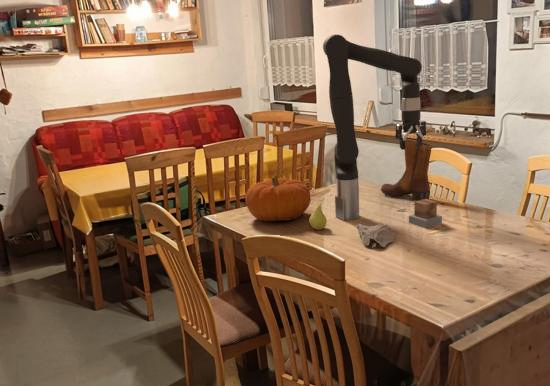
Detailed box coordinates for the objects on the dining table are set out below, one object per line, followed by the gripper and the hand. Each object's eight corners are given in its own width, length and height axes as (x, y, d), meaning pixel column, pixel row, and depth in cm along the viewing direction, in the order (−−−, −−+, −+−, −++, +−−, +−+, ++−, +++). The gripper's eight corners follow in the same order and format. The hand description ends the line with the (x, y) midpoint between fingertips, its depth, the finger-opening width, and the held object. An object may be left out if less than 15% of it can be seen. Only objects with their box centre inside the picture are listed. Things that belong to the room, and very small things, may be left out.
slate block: (425, 229, 216) (425, 220, 215) (409, 223, 224) (409, 215, 223) (441, 224, 220) (441, 216, 220) (425, 219, 228) (425, 211, 227)
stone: (349, 249, 209) (382, 261, 198) (345, 231, 204) (378, 242, 194) (373, 227, 216) (405, 237, 206) (369, 209, 212) (402, 219, 202)
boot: (377, 195, 266) (376, 140, 259) (390, 191, 271) (389, 137, 265) (421, 204, 247) (421, 145, 240) (433, 199, 252) (434, 141, 245)
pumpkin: (261, 233, 223) (257, 185, 218) (237, 216, 248) (233, 172, 243) (323, 220, 234) (321, 174, 229) (294, 205, 259) (292, 163, 254)
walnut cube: (425, 219, 217) (425, 204, 215) (414, 215, 222) (414, 201, 220) (436, 216, 220) (436, 201, 218) (425, 212, 225) (425, 198, 223)
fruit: (306, 229, 223) (305, 201, 220) (318, 224, 229) (317, 196, 226) (319, 232, 219) (318, 203, 216) (331, 227, 224) (330, 199, 221)
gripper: (418, 106, 231) (418, 144, 235) (391, 109, 225) (391, 149, 229) (430, 107, 224) (430, 146, 229) (403, 111, 218) (403, 151, 222)
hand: (411, 147), depth 229 cm, fingers open, 8 cm apart
